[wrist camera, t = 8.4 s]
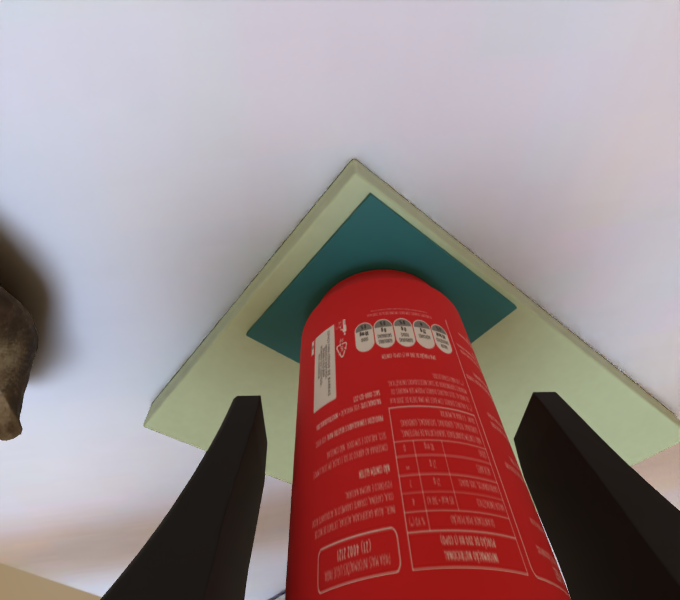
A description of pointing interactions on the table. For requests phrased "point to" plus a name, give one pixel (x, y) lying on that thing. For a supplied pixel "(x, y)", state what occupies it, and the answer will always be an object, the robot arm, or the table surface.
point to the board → (443, 275)
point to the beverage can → (405, 458)
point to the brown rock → (14, 361)
